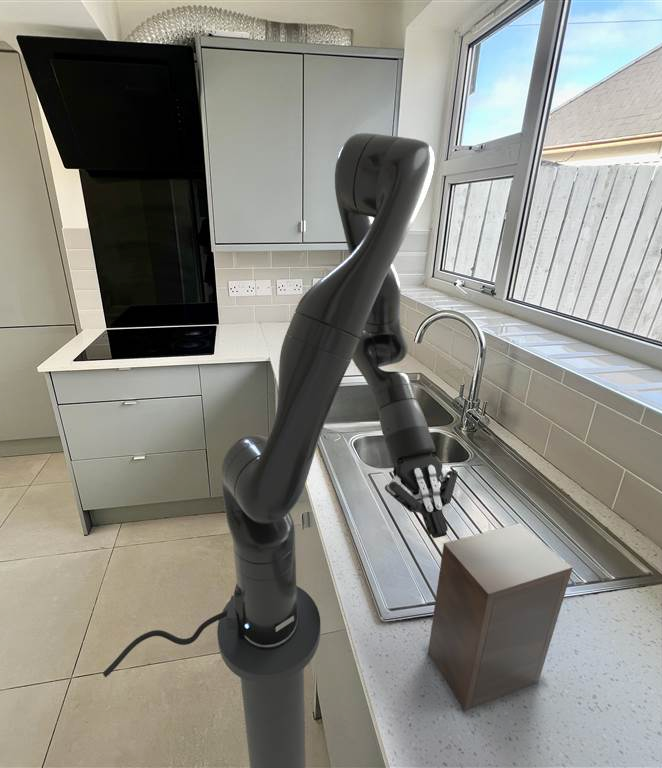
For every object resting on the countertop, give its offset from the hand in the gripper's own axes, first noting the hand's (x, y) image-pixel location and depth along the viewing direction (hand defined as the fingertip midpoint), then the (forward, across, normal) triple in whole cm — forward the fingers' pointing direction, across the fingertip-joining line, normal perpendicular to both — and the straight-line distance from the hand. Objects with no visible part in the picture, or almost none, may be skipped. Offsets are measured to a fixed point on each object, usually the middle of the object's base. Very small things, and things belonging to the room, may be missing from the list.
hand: (439, 536), depth 63 cm
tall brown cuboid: (+17, 0, +1) cm, 17 cm away
